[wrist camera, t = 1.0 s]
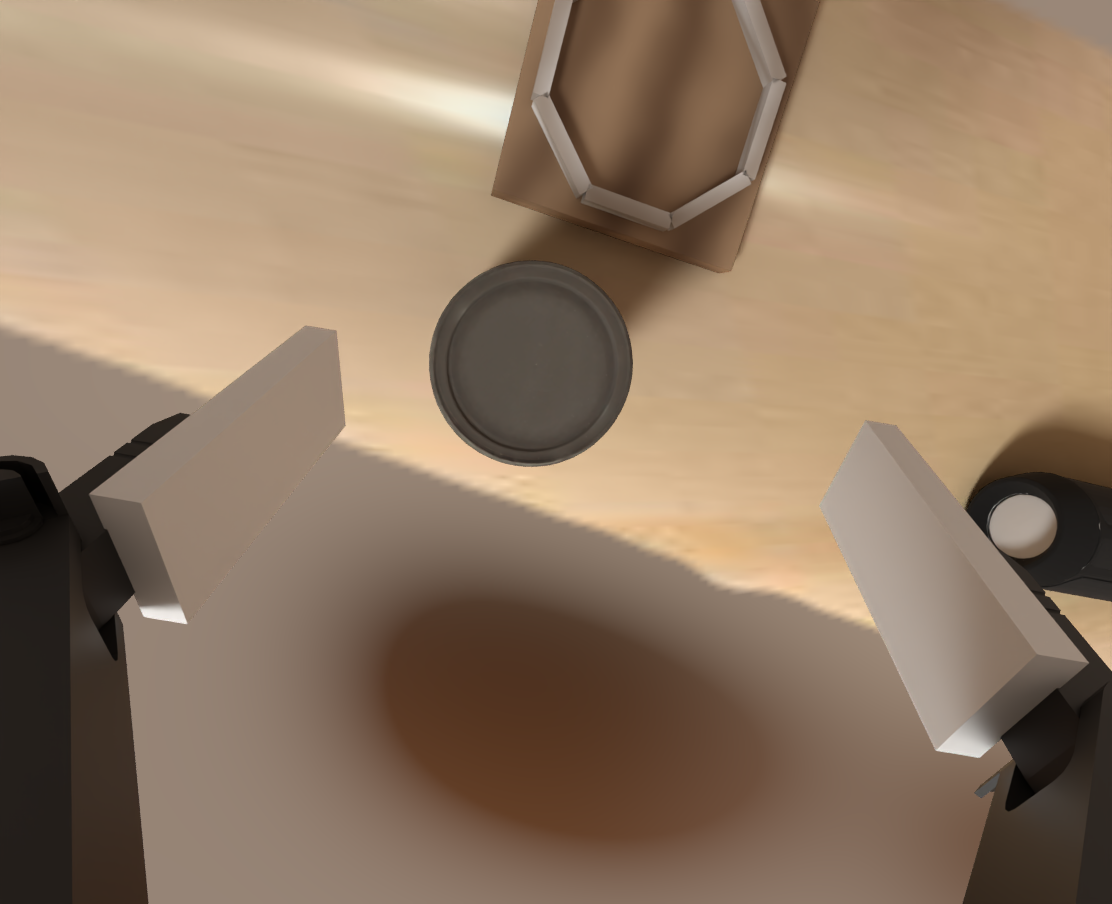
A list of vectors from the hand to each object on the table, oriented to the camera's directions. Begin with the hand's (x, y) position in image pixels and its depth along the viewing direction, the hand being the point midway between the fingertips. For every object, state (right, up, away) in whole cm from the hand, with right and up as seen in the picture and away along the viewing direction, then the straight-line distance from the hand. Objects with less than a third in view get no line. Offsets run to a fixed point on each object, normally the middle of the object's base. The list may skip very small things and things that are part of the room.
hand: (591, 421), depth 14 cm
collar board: (+5, +24, +24) cm, 34 cm away
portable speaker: (+49, -8, +40) cm, 64 cm away
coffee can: (-4, +7, +27) cm, 28 cm away
